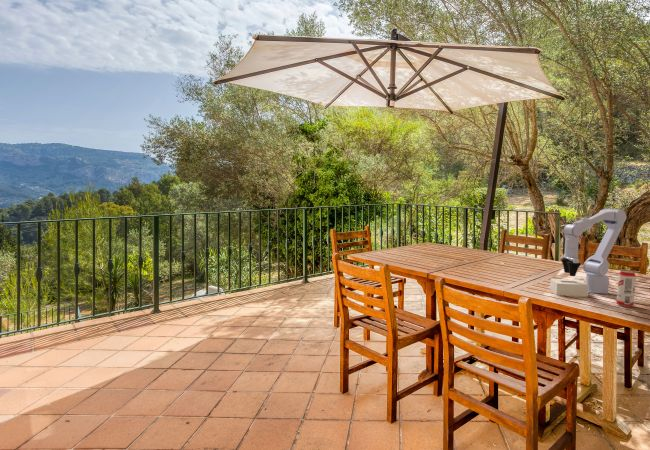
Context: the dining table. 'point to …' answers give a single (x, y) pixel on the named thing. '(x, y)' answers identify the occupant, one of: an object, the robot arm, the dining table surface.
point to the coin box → (569, 287)
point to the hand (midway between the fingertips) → (569, 274)
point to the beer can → (626, 288)
